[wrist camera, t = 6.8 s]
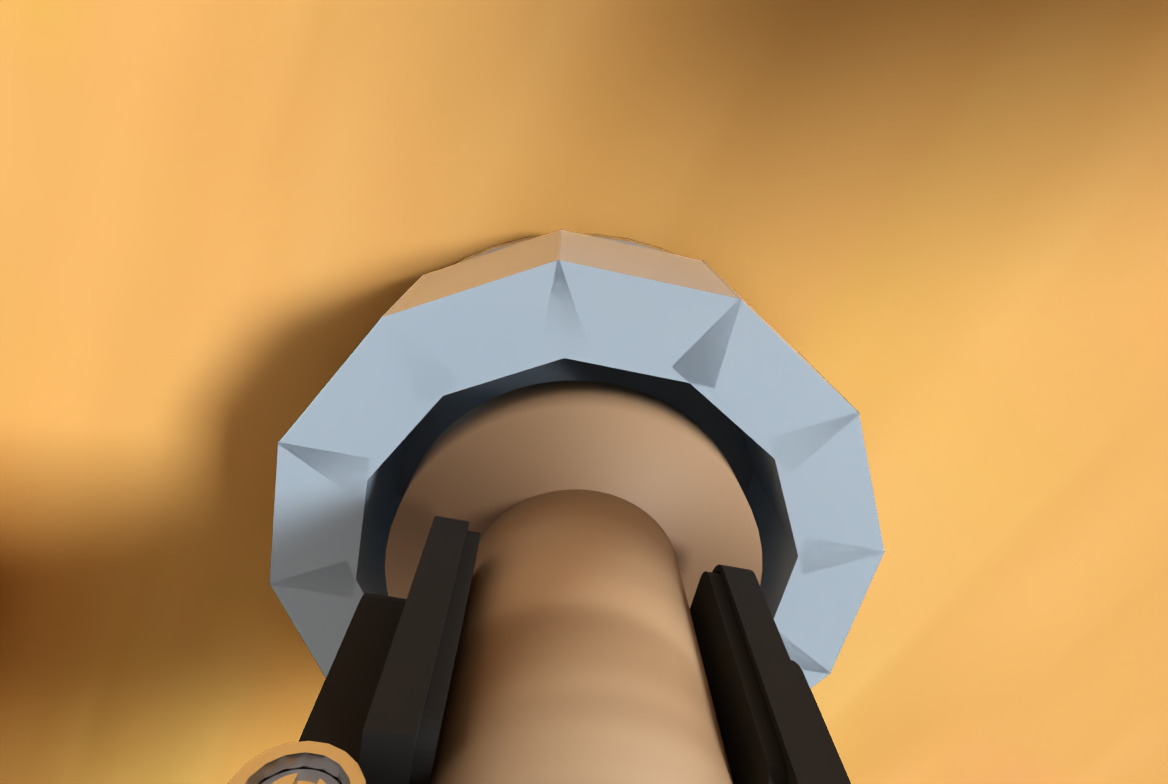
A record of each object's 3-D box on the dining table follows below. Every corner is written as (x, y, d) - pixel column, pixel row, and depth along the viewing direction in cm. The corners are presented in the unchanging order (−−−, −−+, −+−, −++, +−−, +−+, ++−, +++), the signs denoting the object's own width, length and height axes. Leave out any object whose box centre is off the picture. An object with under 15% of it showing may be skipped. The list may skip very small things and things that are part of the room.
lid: (692, 694, 14) (803, 1195, 8) (382, 647, 14) (207, 1149, 7) (791, 419, 12) (1074, 790, 5) (424, 347, 11) (221, 667, 5)
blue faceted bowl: (727, 673, 18) (768, 812, 15) (326, 609, 17) (259, 742, 14) (872, 291, 15) (975, 348, 11) (368, 180, 14) (291, 202, 10)
